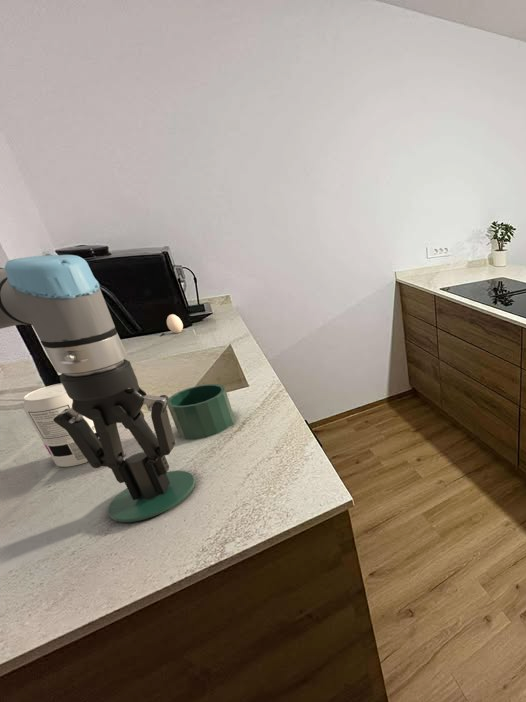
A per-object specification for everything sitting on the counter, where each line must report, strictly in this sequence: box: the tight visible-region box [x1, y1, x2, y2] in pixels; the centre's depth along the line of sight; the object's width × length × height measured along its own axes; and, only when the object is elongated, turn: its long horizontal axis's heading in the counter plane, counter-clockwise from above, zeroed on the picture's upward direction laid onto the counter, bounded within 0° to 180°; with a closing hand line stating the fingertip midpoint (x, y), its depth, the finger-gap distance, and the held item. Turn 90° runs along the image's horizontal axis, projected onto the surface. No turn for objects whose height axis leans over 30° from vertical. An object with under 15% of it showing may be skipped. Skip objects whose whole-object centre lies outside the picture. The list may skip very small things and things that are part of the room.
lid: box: [107, 451, 196, 523], centre depth 63 cm, size 11×11×9 cm
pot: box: [167, 383, 236, 440], centre depth 83 cm, size 10×10×8 cm
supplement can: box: [22, 382, 101, 468], centre depth 73 cm, size 8×8×15 cm
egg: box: [166, 313, 184, 334], centre depth 145 cm, size 5×5×7 cm
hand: (152, 491), depth 64 cm, fingers closed on lid, 3 cm apart
